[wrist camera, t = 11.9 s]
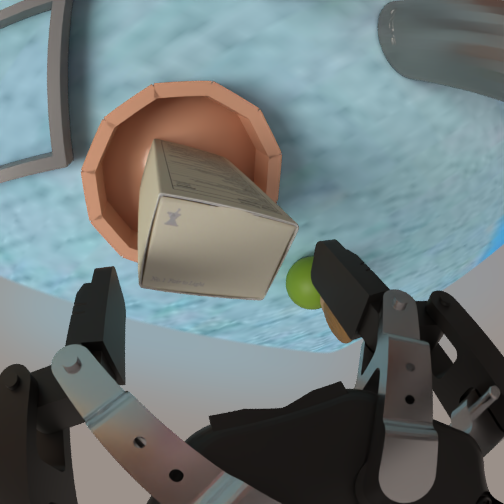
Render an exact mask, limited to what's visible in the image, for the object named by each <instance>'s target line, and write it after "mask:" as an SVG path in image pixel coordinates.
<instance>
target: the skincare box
mask: <svg viewBox="0 0 504 504" xmlns="http://www.w3.org/2000/svg"><path fill="white" fill-rule="evenodd" d="M298 229H299V226H298V224H297V223H296V222H295V221H294V220H293V219H292V218H291V217H289V216H288V215H287V214H286V213H285V212H284V211H283V210H282V209H281V208H280V207H279V206H278V205H277V204H276V203H275V202H274V201H273V200H272V199H271V198H269V197H268V196H267V195H266V194H265V193H264V192H263V191H262V190H261V189H260V188H259V187H258V186H257V185H256V184H255V183H253V182H252V181H251V180H250V179H249V178H248V177H247V176H246V175H245V174H244V173H242V172H241V171H240V170H239V169H238V168H237V167H236V166H235V165H234V164H232V163H231V162H230V161H229V160H228V159H227V158H225V157H222V156H219V155H216V154H213V153H210V152H207V151H203V150H200V149H196V148H193V147H189V146H185V145H181V144H177V143H173V142H169V141H164V140H160V139H154V140H153V142H152V145H151V148H150V151H149V154H148V158H147V161H146V165H145V168H144V172H143V176H142V180H141V185H140V190H139V209H138V274H139V285H140V287H141V288H146V289H152V290H159V291H164V292H173V293H180V294H189V295H198V296H210V297H220V298H231V299H246V300H263V299H264V297H265V295H266V294H267V292H268V290H269V288H270V286H271V284H272V282H273V280H274V278H275V276H276V274H277V273H278V270H279V269H280V267H281V265H282V263H283V261H284V259H285V257H286V255H287V253H288V251H289V248H290V246H291V244H292V242H293V240H294V238H295V236H296V234H297V232H298Z"/></svg>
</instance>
